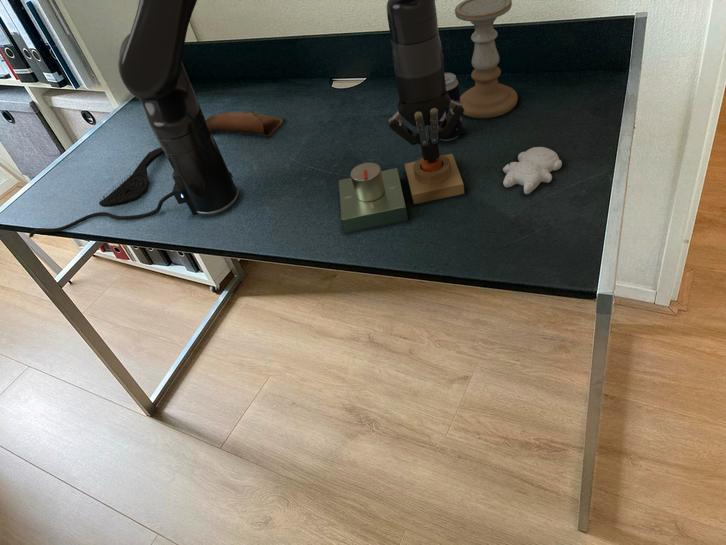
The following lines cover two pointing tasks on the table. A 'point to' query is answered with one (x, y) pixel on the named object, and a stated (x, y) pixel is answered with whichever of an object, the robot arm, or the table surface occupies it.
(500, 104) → the candle holder
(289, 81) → the table surface
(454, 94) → the beverage can
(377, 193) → the rotary dial knob
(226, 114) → the sunglasses case
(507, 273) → the table surface
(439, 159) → the button
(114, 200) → the hairbrush
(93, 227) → the table surface
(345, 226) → the control knob panel
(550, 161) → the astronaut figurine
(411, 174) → the button block
